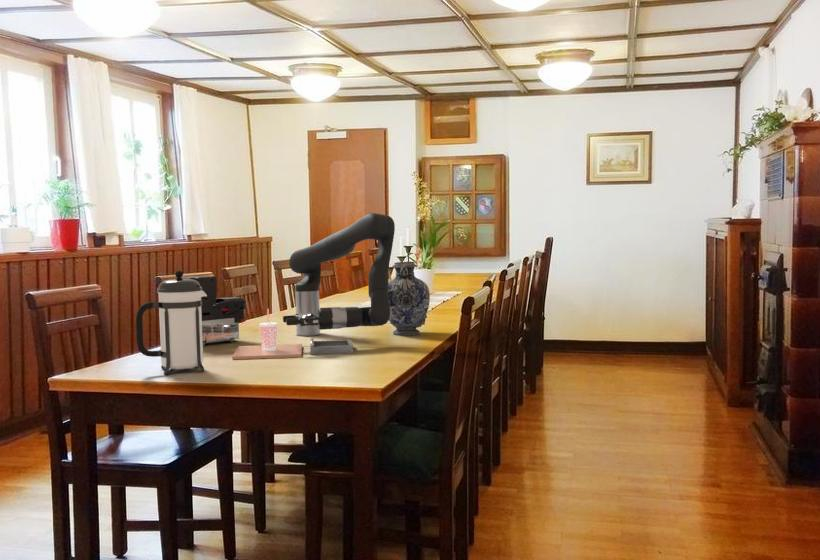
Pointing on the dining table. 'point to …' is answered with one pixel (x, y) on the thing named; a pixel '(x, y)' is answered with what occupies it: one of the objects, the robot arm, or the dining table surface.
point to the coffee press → (176, 324)
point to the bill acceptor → (219, 312)
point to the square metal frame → (330, 347)
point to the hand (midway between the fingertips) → (284, 320)
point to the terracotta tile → (268, 352)
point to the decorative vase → (407, 300)
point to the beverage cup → (268, 335)
